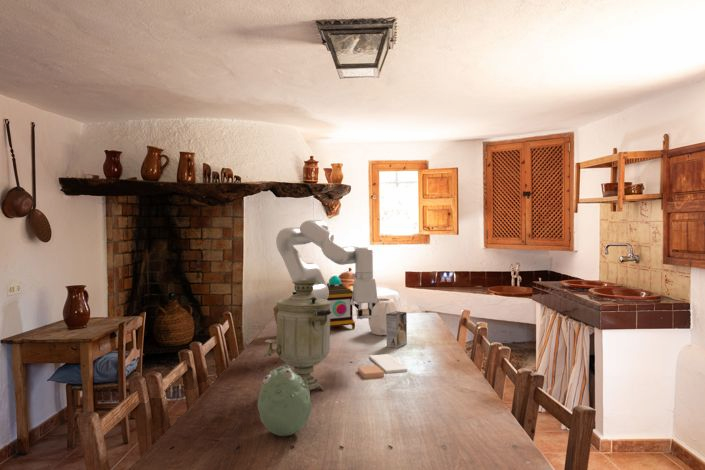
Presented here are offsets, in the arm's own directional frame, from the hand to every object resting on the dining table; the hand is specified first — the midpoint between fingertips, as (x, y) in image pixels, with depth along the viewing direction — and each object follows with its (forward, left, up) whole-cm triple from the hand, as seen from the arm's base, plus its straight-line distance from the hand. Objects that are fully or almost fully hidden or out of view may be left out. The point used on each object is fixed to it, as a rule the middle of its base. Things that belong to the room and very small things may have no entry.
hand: (364, 318), depth 226 cm
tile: (-2, -11, -19) cm, 22 cm away
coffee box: (+24, +25, -20) cm, 40 cm away
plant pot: (-25, +60, -20) cm, 68 cm away
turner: (0, -1, 0) cm, 1 cm away
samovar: (-34, -28, -20) cm, 48 cm away
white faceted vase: (+25, +50, -20) cm, 59 cm away
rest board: (+9, -5, -19) cm, 22 cm away
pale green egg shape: (-43, -65, -20) cm, 80 cm away
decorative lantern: (+4, +73, -20) cm, 76 cm away
